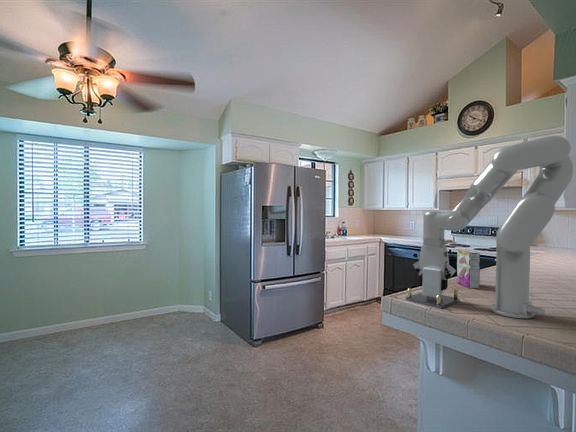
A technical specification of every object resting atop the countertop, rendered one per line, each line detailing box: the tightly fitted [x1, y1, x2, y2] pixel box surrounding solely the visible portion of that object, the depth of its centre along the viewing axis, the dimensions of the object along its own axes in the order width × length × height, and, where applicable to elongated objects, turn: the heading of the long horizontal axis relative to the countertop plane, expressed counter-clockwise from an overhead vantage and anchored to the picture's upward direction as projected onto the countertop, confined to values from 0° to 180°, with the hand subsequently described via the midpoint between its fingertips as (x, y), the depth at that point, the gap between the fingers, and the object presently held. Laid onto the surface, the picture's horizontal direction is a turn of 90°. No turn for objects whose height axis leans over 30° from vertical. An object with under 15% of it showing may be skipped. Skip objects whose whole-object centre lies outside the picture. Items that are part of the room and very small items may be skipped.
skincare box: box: [421, 267, 444, 297], centre depth 122 cm, size 10×6×10 cm, turn 146°
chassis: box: [405, 287, 461, 310], centre depth 123 cm, size 14×15×4 cm
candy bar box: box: [456, 248, 481, 290], centre depth 146 cm, size 11×5×16 cm, turn 179°
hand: (433, 287), depth 122 cm, fingers closed on skincare box, 7 cm apart
